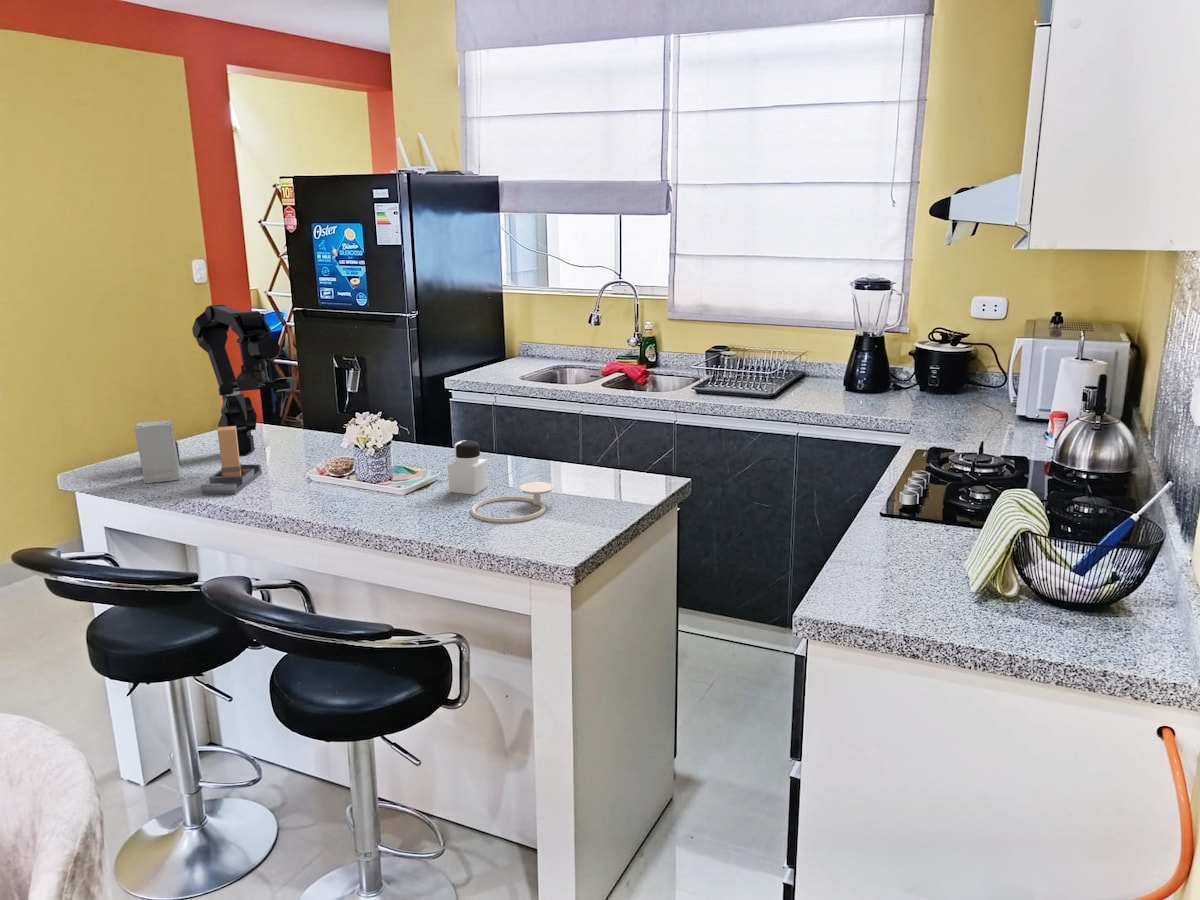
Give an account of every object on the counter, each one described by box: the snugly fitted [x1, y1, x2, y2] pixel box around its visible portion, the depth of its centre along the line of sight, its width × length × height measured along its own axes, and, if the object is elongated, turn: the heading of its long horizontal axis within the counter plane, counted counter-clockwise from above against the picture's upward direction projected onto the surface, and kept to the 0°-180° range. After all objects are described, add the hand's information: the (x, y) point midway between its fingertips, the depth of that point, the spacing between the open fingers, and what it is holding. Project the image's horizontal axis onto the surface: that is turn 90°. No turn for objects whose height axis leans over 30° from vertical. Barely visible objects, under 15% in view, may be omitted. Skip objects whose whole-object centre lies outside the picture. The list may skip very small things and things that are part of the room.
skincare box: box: [134, 419, 181, 484], centre depth 229 cm, size 8×6×15 cm
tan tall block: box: [217, 426, 242, 477], centre depth 225 cm, size 4×4×13 cm
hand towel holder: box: [470, 481, 555, 524], centre depth 207 cm, size 17×4×20 cm
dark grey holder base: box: [200, 464, 263, 495], centre depth 227 cm, size 8×18×3 cm, turn 0°
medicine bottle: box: [447, 439, 489, 496], centre depth 220 cm, size 7×7×12 cm
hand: (262, 418), depth 242 cm, fingers open, 9 cm apart
